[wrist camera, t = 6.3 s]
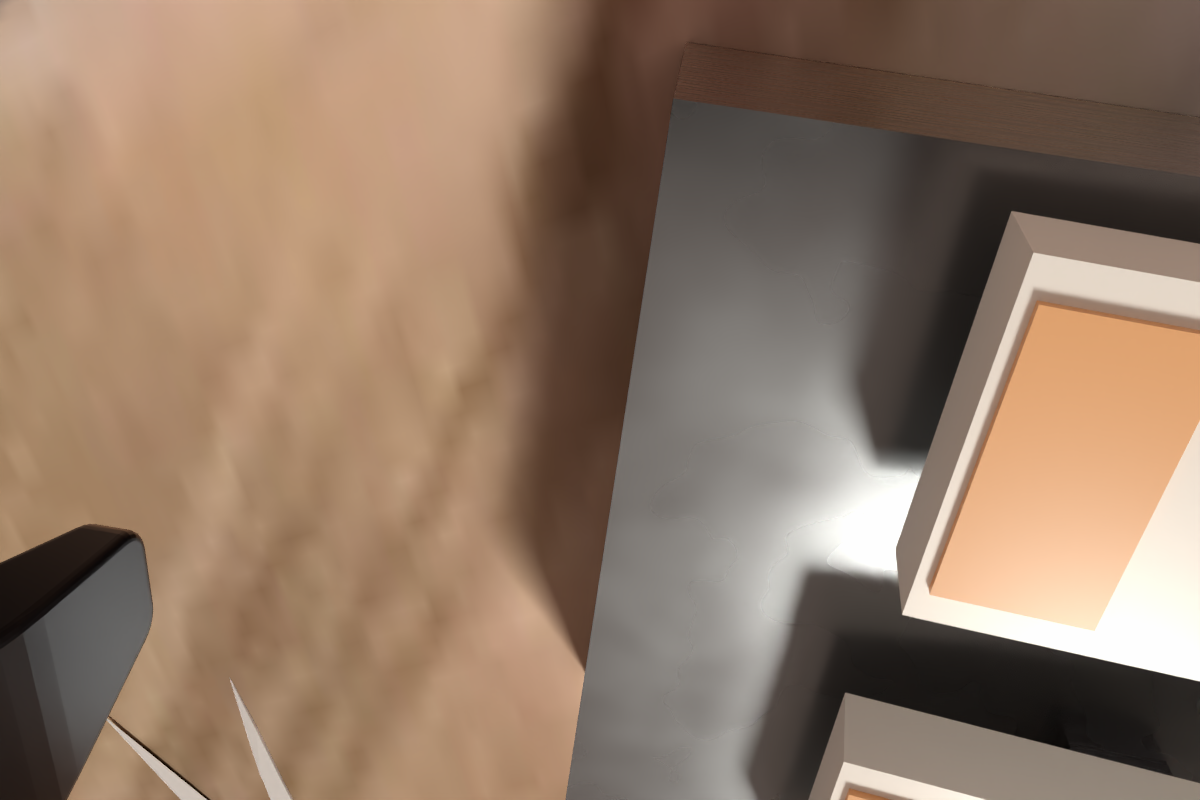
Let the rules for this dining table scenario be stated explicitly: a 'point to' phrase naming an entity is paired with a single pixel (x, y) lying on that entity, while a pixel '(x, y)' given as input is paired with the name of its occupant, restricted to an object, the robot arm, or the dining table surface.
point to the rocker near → (1070, 454)
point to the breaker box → (836, 423)
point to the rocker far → (967, 763)
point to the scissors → (262, 756)
